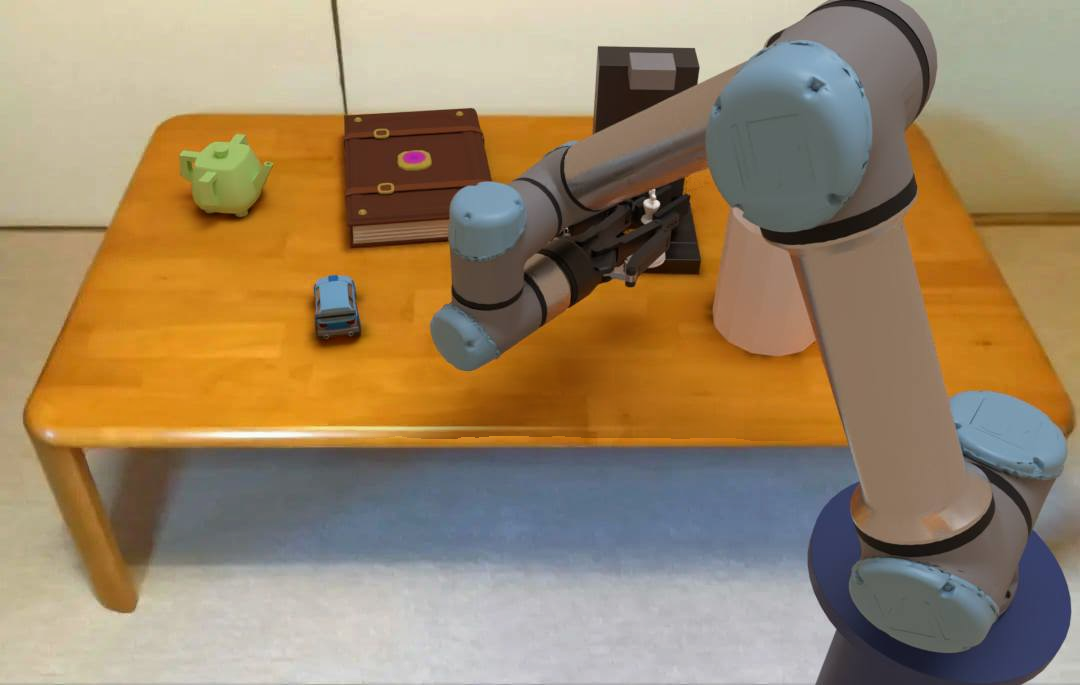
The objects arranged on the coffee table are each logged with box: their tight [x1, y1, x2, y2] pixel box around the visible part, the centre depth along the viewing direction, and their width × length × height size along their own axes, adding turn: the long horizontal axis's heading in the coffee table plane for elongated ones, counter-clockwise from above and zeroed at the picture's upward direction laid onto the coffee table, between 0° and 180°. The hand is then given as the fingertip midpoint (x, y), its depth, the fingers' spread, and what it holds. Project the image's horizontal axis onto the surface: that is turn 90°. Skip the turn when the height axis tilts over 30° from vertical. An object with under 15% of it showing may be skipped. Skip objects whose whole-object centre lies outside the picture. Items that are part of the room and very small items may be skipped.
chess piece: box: [627, 189, 665, 268], centre depth 125 cm, size 5×5×10 cm
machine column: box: [591, 45, 701, 197], centre depth 149 cm, size 11×14×26 cm
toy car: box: [313, 274, 362, 341], centre depth 135 cm, size 6×12×6 cm, turn 12°
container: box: [712, 205, 816, 358], centre depth 132 cm, size 14×14×18 cm
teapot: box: [178, 133, 275, 218], centre depth 154 cm, size 12×12×10 cm
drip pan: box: [605, 196, 702, 275], centre depth 151 cm, size 16×16×2 cm
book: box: [342, 107, 493, 248], centre depth 160 cm, size 23×32×5 cm
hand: (677, 199), depth 128 cm, fingers closed on chess piece, 2 cm apart
